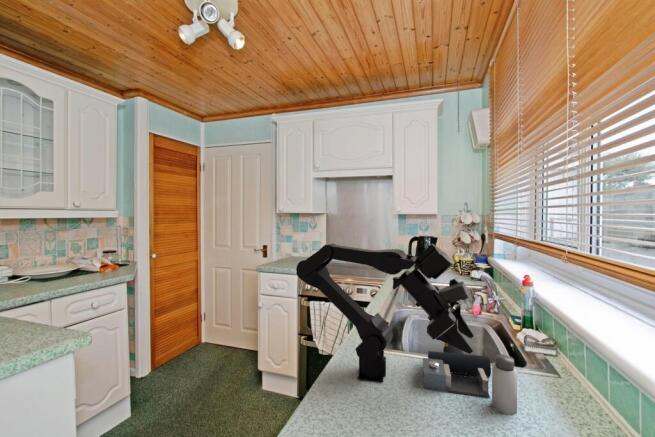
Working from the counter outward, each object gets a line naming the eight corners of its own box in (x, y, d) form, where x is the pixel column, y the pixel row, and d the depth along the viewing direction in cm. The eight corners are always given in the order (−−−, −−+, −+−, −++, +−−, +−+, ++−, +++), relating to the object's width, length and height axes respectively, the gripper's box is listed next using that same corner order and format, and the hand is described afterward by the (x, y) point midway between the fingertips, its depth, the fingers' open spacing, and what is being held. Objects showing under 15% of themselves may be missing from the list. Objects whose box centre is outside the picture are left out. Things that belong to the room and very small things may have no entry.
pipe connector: (425, 337, 94) (478, 342, 91) (425, 355, 94) (478, 359, 91) (430, 355, 83) (491, 361, 80) (430, 375, 83) (490, 381, 80)
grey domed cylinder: (494, 412, 67) (495, 361, 66) (489, 399, 71) (489, 352, 71) (520, 416, 65) (520, 364, 65) (512, 402, 70) (513, 354, 70)
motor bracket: (424, 388, 76) (424, 369, 76) (422, 372, 83) (422, 354, 83) (489, 398, 72) (490, 377, 72) (482, 380, 80) (482, 361, 79)
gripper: (443, 277, 65) (503, 338, 60) (450, 264, 81) (498, 311, 77) (405, 309, 68) (459, 370, 64) (419, 290, 85) (463, 337, 80)
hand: (471, 344), depth 71 cm, fingers open, 9 cm apart
